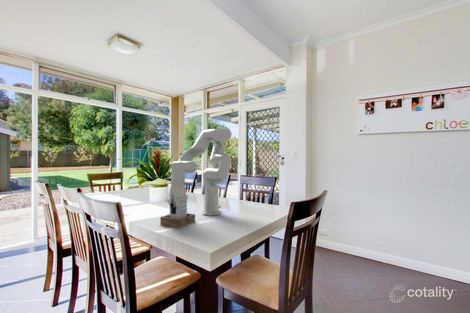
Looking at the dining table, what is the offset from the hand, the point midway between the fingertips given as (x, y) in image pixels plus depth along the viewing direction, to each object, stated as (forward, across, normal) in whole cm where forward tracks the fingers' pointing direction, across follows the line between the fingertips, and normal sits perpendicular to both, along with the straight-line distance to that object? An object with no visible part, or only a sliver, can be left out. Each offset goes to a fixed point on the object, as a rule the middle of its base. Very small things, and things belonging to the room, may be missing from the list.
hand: (178, 211), depth 130 cm
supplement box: (+4, 0, 0) cm, 4 cm away
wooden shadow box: (+7, 0, 0) cm, 7 cm away
